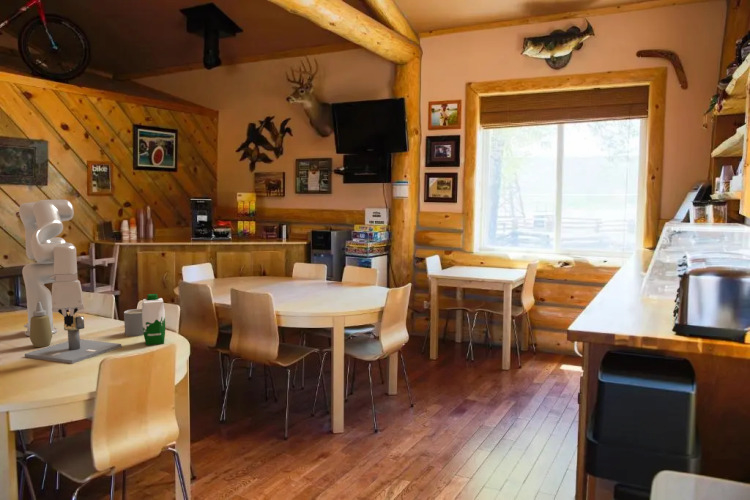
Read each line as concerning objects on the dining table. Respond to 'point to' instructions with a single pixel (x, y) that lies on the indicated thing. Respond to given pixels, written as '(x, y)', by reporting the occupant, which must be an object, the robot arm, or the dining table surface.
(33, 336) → the squeeze bottle
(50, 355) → the post base
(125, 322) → the coffee mug
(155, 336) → the milk carton
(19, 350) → the dining table surface
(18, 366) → the dining table surface
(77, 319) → the tan piece
